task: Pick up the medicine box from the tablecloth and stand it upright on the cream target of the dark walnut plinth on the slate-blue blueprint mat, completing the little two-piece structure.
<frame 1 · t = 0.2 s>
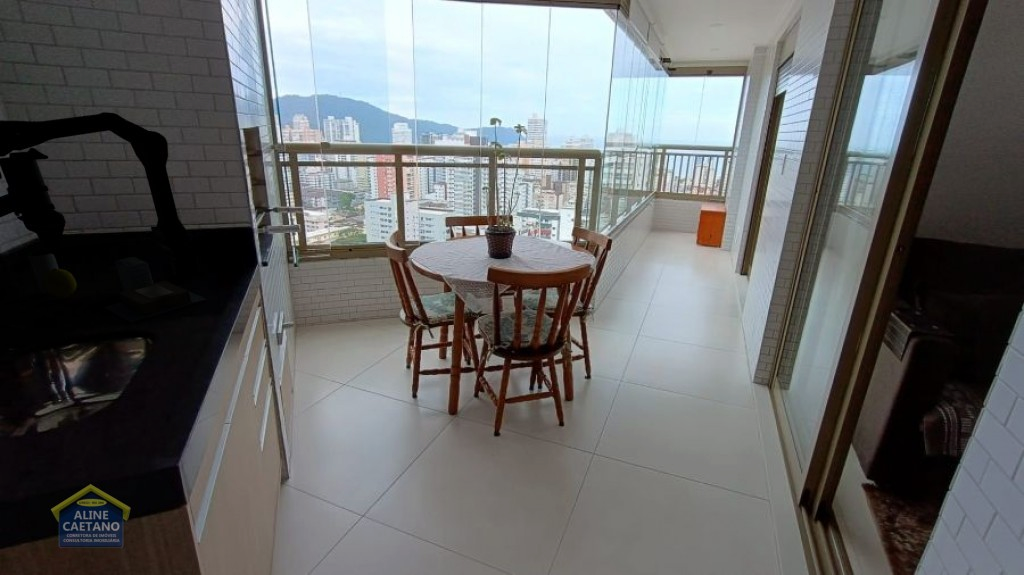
hand: (51, 249, 105), 14 cm above the counter, tool pointing down, fingers open, 9 cm apart
plinth: (155, 297, 112), on the blueprint mat, point 2 cm above the counter
lemon: (66, 298, 115), on the counter
medicine box: (140, 293, 119), on the counter
blueprint mat: (157, 304, 113), on the counter
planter: (54, 291, 118), on the counter
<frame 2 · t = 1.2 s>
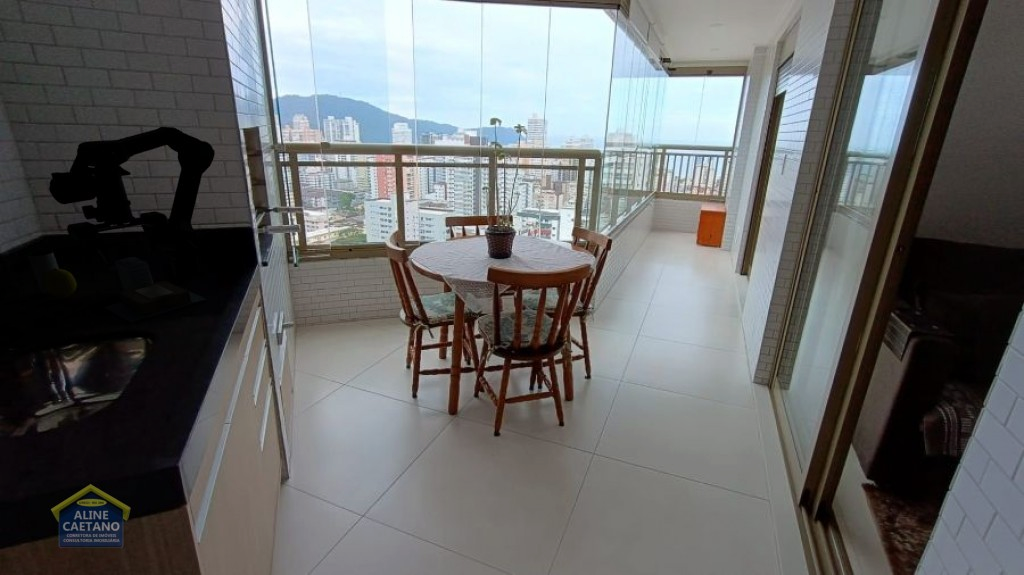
hand: (130, 257, 116), 10 cm above the counter, tool pointing down, fingers open, 9 cm apart
nothing on the counter moved.
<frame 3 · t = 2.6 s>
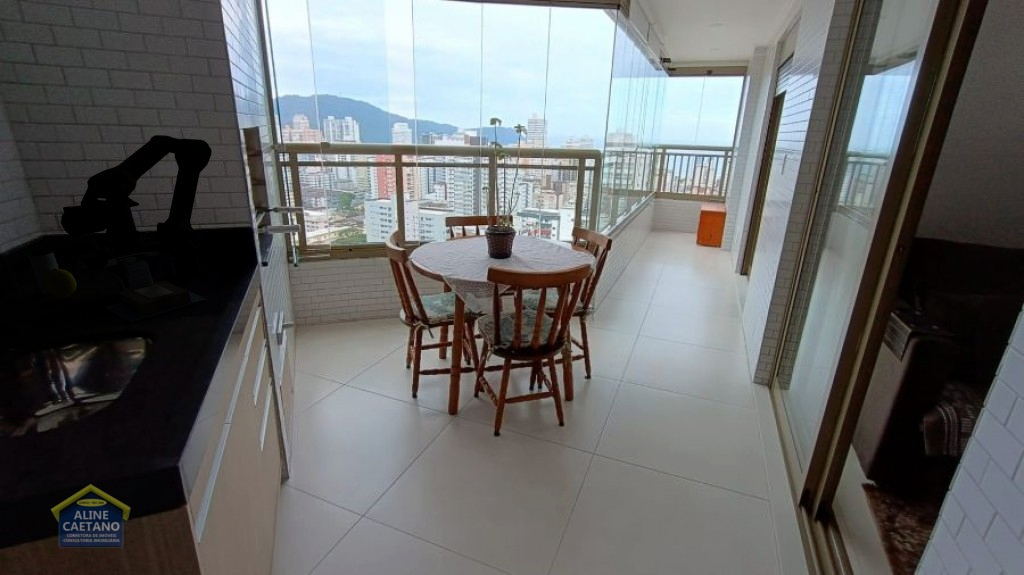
hand: (138, 285, 118), 2 cm above the counter, tool pointing down, fingers closed on medicine box, 4 cm apart
medicine box: (140, 293, 119), on the counter, touching gripper
everything else where it was.
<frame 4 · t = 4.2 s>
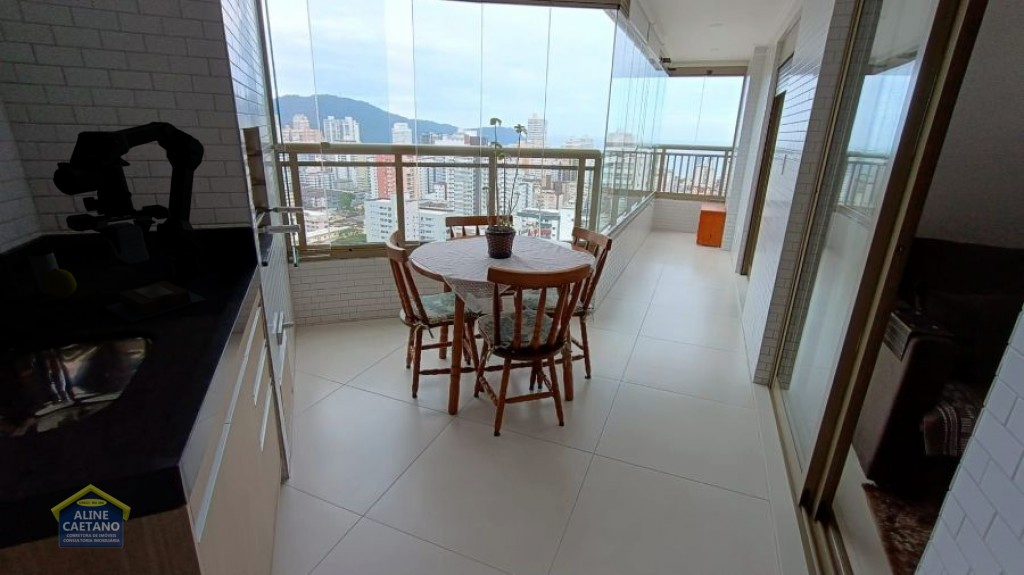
hand: (130, 251, 113), 12 cm above the counter, tool pointing down, fingers closed on medicine box, 4 cm apart
medicine box: (133, 260, 114), point 10 cm above the counter, touching gripper
everything else where it was.
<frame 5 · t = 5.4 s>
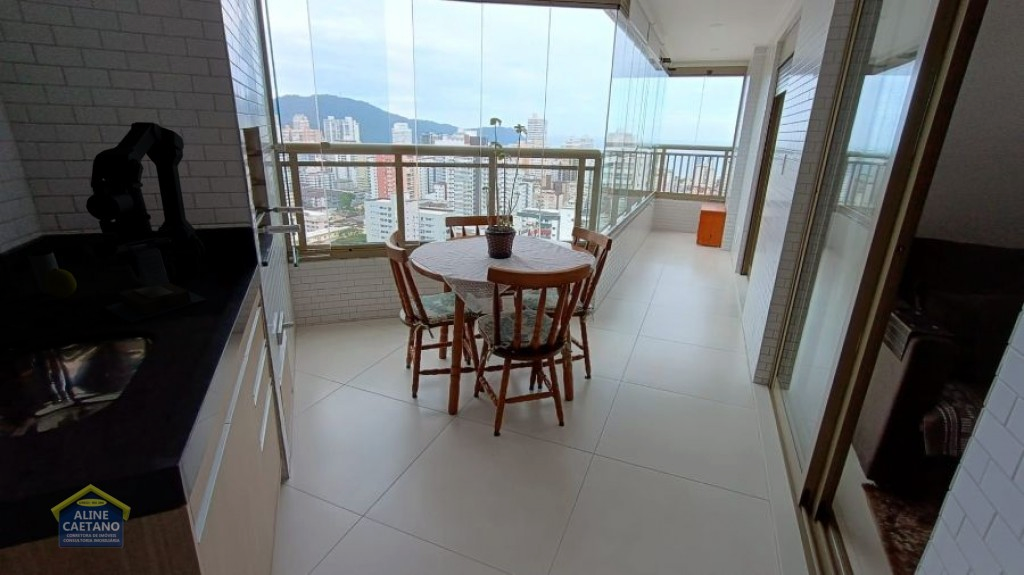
hand: (149, 274, 110), 8 cm above the counter, tool pointing down, fingers closed on medicine box, 4 cm apart
medicine box: (151, 283, 111), point 6 cm above the counter, touching gripper
everything else where it was.
when the fingers open (6 cm above the counter, at t = 6.0 s): medicine box stays where it is, resting on plinth.
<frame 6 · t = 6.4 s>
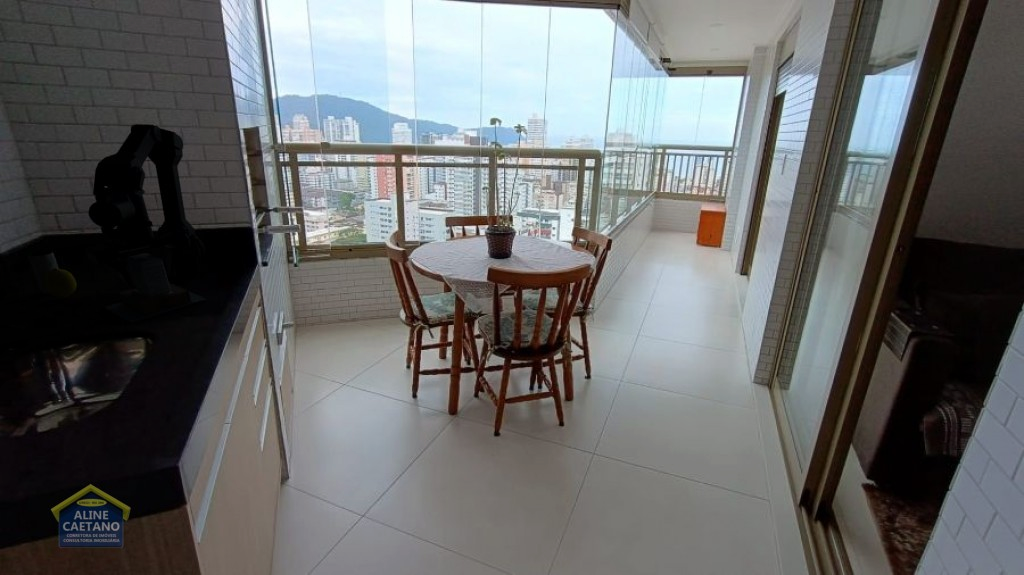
hand: (150, 280, 110), 6 cm above the counter, tool pointing down, fingers open, 8 cm apart
medicine box: (153, 292, 111), point 3 cm above the counter, touching plinth
everything else where it was.
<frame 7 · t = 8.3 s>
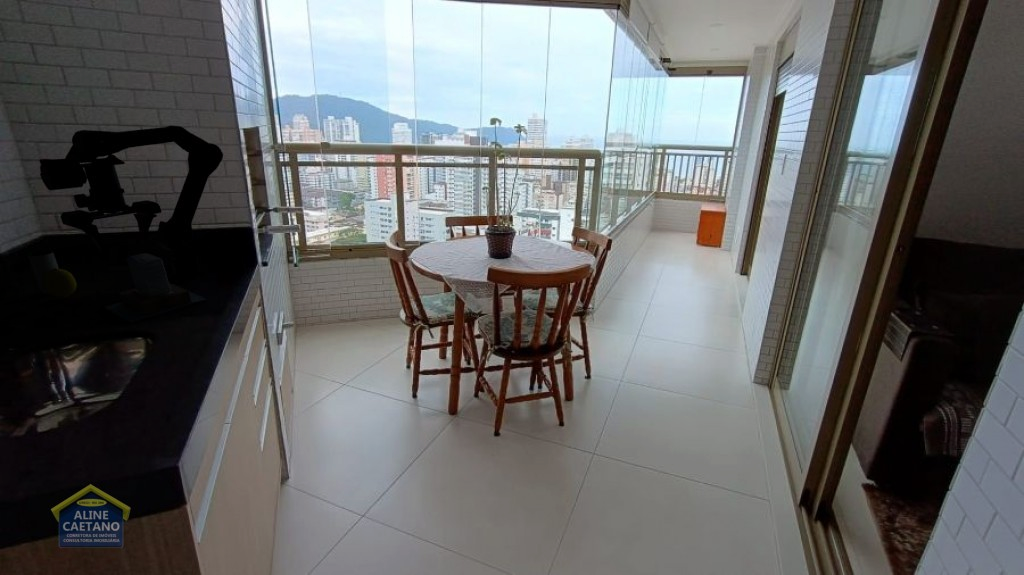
hand: (123, 245, 117), 12 cm above the counter, tool pointing down, fingers open, 9 cm apart
nothing on the counter moved.
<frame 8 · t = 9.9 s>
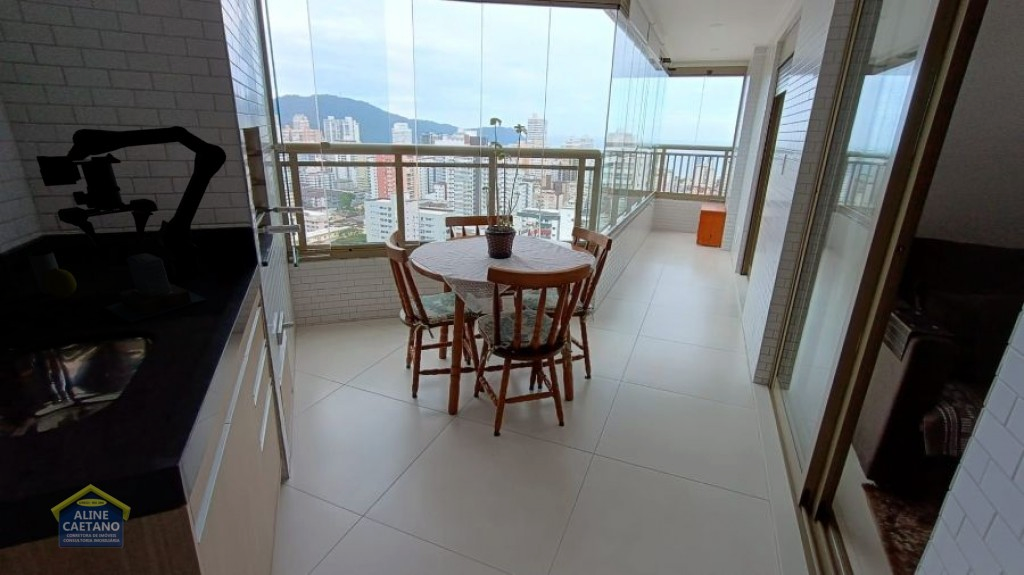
hand: (119, 242, 119), 12 cm above the counter, tool pointing down, fingers open, 9 cm apart
nothing on the counter moved.
at the end: medicine box 0.1 cm off-centre on the plinth, point 3.4 cm above the plinth's base; medicine box tilted 0°; the gripper is holding nothing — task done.
